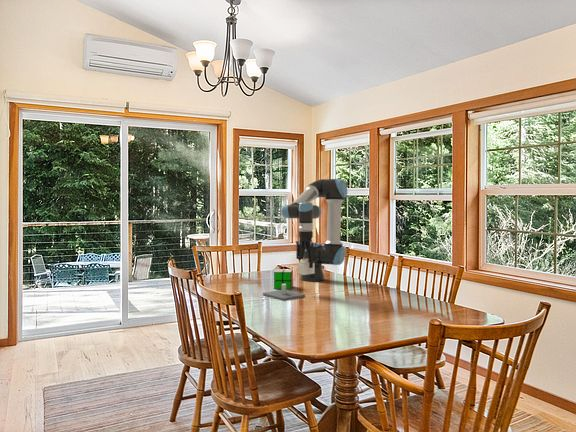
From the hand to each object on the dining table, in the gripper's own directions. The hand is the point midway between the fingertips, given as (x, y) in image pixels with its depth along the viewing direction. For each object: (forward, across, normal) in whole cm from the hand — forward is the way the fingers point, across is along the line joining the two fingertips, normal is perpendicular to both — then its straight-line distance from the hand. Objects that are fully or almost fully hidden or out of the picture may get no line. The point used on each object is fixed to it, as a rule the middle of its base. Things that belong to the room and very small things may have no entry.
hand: (305, 272), depth 251 cm
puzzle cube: (+12, -21, +1) cm, 24 cm away
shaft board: (+11, -3, -14) cm, 18 cm away
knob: (0, 0, 0) cm, 0 cm away
